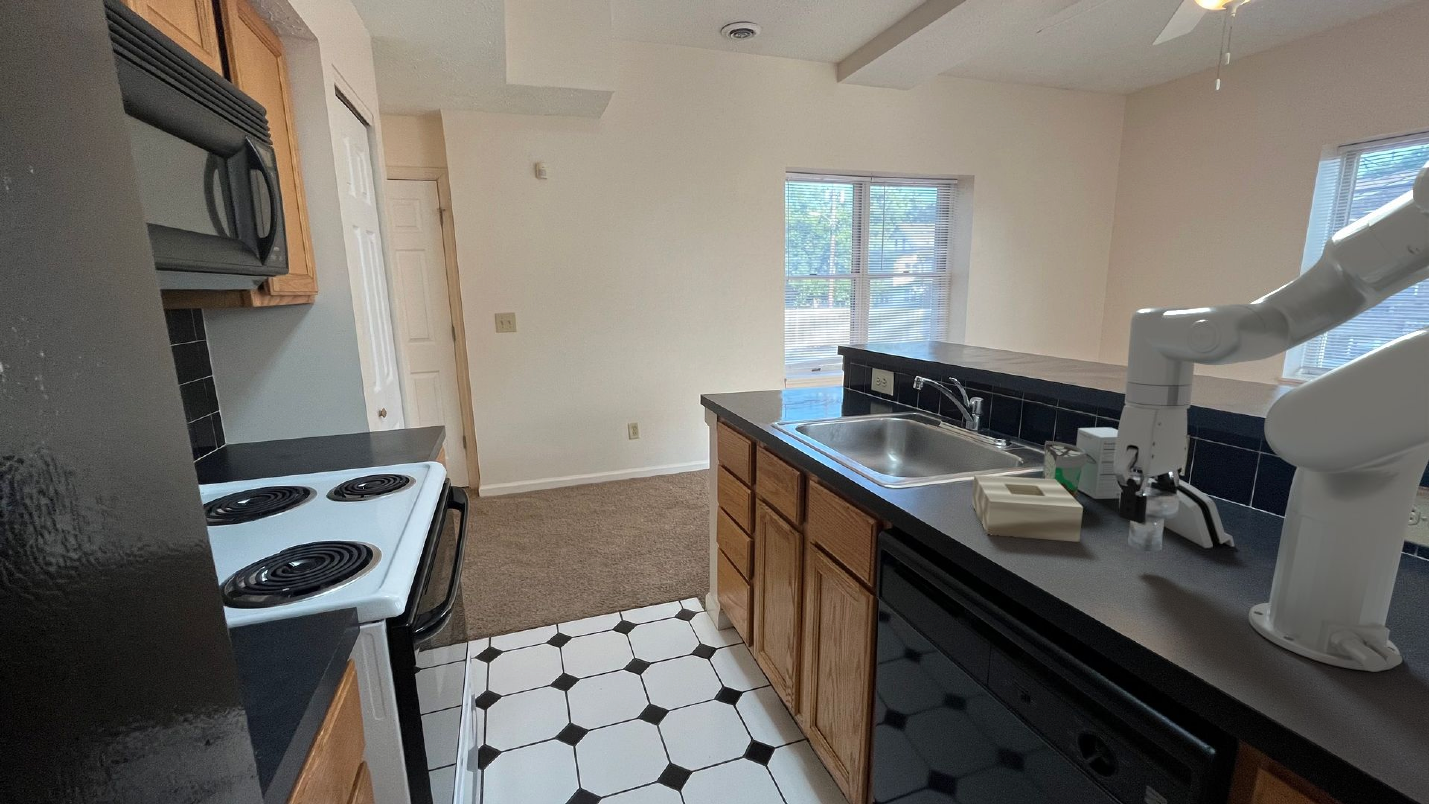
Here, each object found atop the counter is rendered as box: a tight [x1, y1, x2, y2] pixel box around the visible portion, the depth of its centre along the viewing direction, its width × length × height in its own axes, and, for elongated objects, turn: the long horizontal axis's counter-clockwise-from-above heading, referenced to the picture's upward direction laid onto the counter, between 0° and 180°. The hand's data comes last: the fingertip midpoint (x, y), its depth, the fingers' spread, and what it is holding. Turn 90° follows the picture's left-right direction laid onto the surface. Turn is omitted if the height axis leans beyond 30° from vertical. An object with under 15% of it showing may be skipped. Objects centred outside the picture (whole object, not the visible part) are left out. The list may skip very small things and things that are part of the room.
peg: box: [1118, 487, 1179, 552], centre depth 88 cm, size 7×7×8 cm
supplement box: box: [1075, 426, 1120, 500], centre depth 119 cm, size 7×7×13 cm
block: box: [971, 474, 1084, 543], centre depth 106 cm, size 14×14×6 cm
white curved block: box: [1131, 477, 1235, 549], centre depth 103 cm, size 17×5×10 cm, turn 2°
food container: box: [1042, 440, 1087, 500], centre depth 116 cm, size 12×6×10 cm, turn 161°
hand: (1147, 514), depth 88 cm, fingers closed on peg, 7 cm apart
